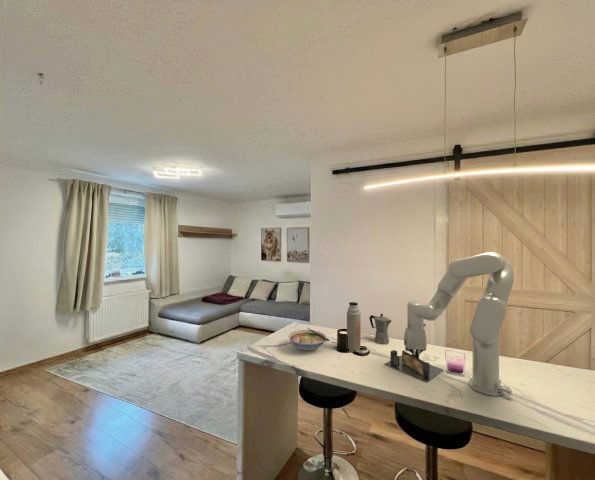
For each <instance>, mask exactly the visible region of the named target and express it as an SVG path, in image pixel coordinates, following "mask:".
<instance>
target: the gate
mask: <svg viewBox="0 0 595 480" xmlns="http://www.w3.org/2000/svg"><path fill="white" fill-rule="evenodd" d="M401 355H402V362H403V363H405V364H406V365H408V366H410V367H411V368H413V369H414V370H416V371H418V372H419V373H421V374H423V375H424V362H425V361H424V360H422V359H420V358H419V359H418V358H417V357H415V356H413V355H412V353H409V352H408V351H406V350H405V349H402V351H401Z"/></svg>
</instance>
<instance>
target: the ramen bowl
mask: <svg viewBox="0 0 595 480" xmlns="http://www.w3.org/2000/svg"><path fill="white" fill-rule="evenodd" d="M288 339H289V341H290V342H291V344H292V345H293V346H294V347H295V348H297V349H299V350H302V351H305V350H306V351H307V352H308V351H314V350H316V349H318V348H320V347H321V346H322V345H323V344H324V343H325V342H330V338H327V336H326V334H325V333H324V332H322V331H318V330H314V329H310V328H308V327H306V329H298V330H295V331H293V332H291V333H289V335H288ZM306 351H305V352H306Z"/></svg>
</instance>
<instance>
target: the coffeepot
mask: <svg viewBox="0 0 595 480" xmlns="http://www.w3.org/2000/svg"><path fill="white" fill-rule="evenodd" d="M373 320H374V322H373ZM369 323H370V325H371V328H372V329H375V330H376V331H375V334H374V335H375V336H374V342H375V343H376V344H378V345H388V344H389V343H390V339H389V335H388V334H389V333H388V329H389V326H390V324H391V323H392V320H391V319H390V318H389V317H387V316H384V313H380V316H377V315H373V314H371V315H369ZM374 325H375V326H374Z"/></svg>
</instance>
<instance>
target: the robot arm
mask: <svg viewBox="0 0 595 480" xmlns="http://www.w3.org/2000/svg"><path fill="white" fill-rule="evenodd" d="M485 275H488V279H487V282H486V285H485V289H484V291H483V293H482V296H481V297H480V299H479V300H478V303H477V305H476V309H475V311H474V315H473V317H472V320H471V323H470V328H469V334H470V336H471V338H472V378H469V379H468V380H467V384H468V386H470V388H471V389H473V390H474V391H476V392H478V393H481V394H483V395H485V396H486V395H487V396H491V397H492V396H493V397H499V396H502V395H504V393H506V394H508V395H512V394H513V389H511V388H510V386H508V385H506V384H505V385H504V384H503V383H502V379H500V332H501V329H502V327H503V323H504V320H505V317H506V314H507V310H508V302H509V298H510V295H511V292H512V288H513V285H514V281H515V280H514V279H515V274H514V269H513V267H512V264H511V263H510V262H509V261H508V260H507V259H506V258H505V257H504V256H503V255H501V254H499V253H498V252H494V251H487V252H484V253H480V254H476V255H472V256H469V257H464V258H458V259H453V260H451V262H449V264H448V267H447V271H446V272H445V274H444V275H443V276H442V278H441V279H440V281H439V282H438V285H437V290H436V291H435V293H434V296H433V297H432V298H431V300H430V301H429V302H428V303H426V304H423V303H422V302H421V301H415V300H413V301H408V303H407V304H406V305H407V307H406V308H407V311H406V312H407V322H406V323H407V325H406V327H405V330H404V336H403V345H404V351H406V352H410V354H411V355H413V356H415V357H417V358H418V359H420V356H421V353H422V352H425V351H427V343H428V342H427V334H426V331H425V327H426V326H427V325H426V323H424V320H426V321H430V322H432V321H436V320H437V319H438V318H439V317H440V316H441V315H443V313H444V312H445V310H446V309H447V307H448V306H449V304H450V303H451V302H452V300H453V299H454V298H455V297H456V295H457V294H458V293H459V291H460V289H461V287H463V285H464V284H465V282H466V281H467V279H469V278H475V277H480V276H485Z"/></svg>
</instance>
